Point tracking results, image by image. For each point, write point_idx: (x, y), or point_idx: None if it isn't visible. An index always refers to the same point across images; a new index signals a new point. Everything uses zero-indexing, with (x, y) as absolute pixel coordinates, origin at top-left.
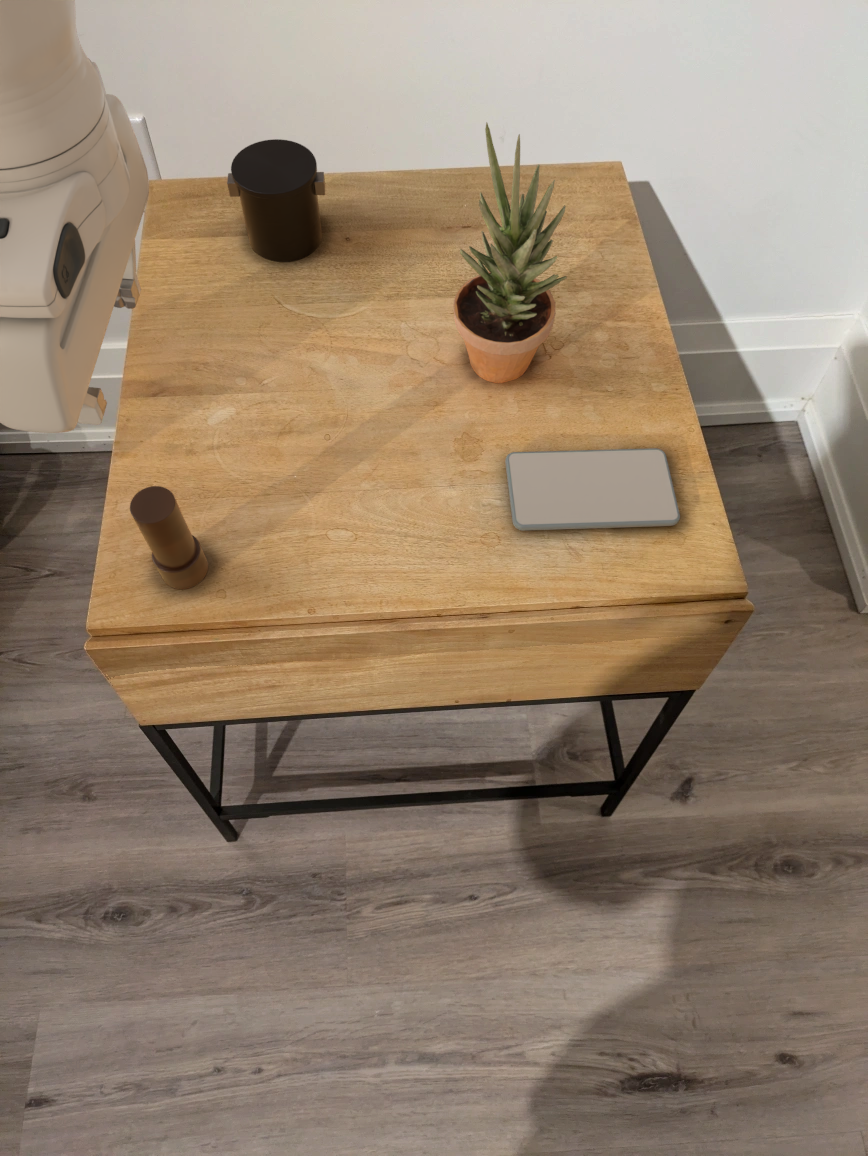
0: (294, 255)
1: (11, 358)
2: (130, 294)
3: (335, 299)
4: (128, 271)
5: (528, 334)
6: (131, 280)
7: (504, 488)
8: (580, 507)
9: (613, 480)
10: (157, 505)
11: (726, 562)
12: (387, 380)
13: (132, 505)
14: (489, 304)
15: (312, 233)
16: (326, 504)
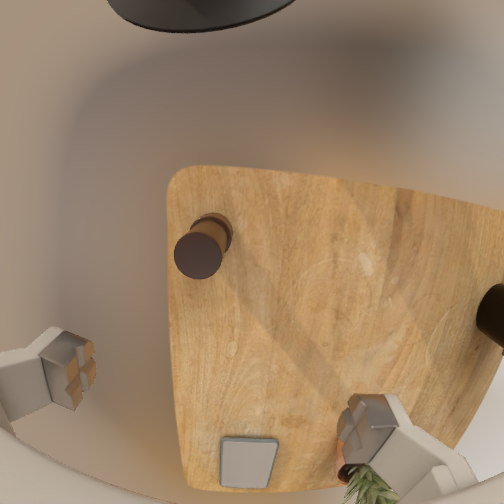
0: (479, 318)
1: None
2: (343, 451)
3: (440, 344)
4: (382, 468)
5: (345, 472)
6: (369, 460)
7: (256, 434)
8: (232, 462)
9: (249, 474)
10: (195, 261)
11: (199, 489)
12: (364, 381)
13: (198, 234)
14: (360, 477)
15: (486, 334)
16: (261, 341)
